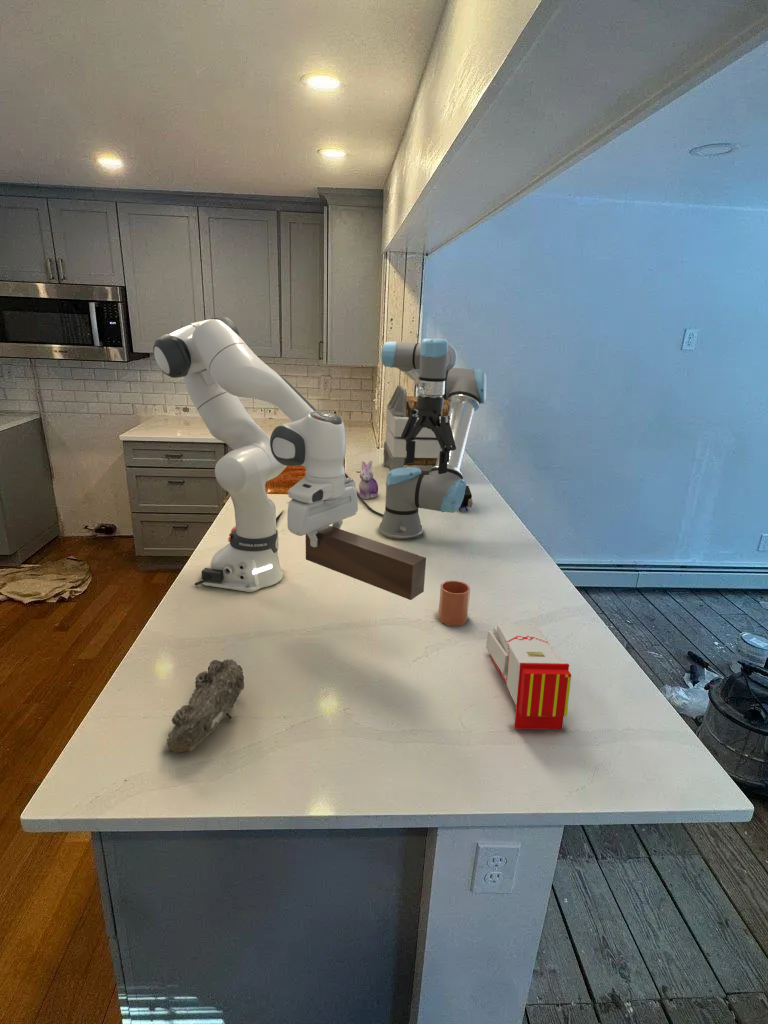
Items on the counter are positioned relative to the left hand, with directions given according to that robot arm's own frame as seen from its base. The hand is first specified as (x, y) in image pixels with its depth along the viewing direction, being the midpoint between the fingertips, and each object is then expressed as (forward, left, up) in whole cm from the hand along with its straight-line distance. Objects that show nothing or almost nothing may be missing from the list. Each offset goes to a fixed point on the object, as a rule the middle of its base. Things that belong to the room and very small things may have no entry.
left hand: (324, 542), depth 132 cm
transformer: (+29, +144, -23) cm, 149 cm away
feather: (-26, +78, -23) cm, 85 cm away
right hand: (+25, +41, +8) cm, 49 cm away
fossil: (-17, -34, -23) cm, 44 cm away
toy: (+44, -19, -23) cm, 54 cm away
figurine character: (+44, +96, -23) cm, 108 cm away
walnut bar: (+9, -6, -5) cm, 12 cm away
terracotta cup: (+32, +8, -23) cm, 40 cm away
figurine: (+6, +105, -23) cm, 107 cm away
